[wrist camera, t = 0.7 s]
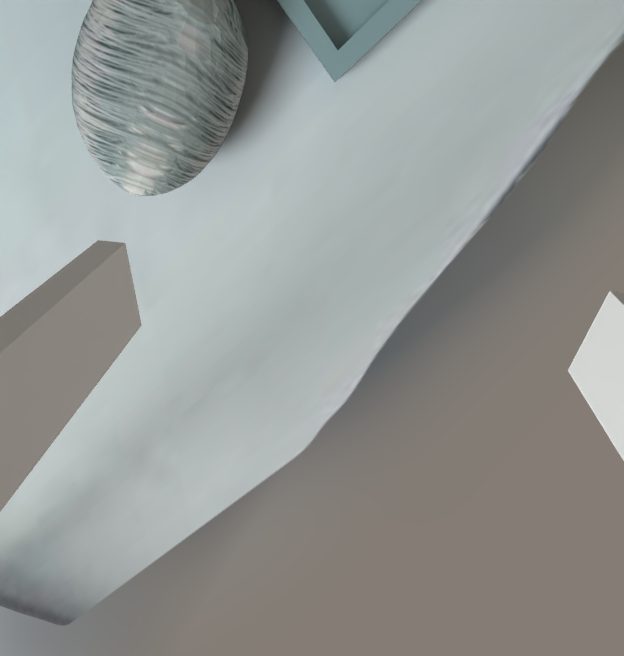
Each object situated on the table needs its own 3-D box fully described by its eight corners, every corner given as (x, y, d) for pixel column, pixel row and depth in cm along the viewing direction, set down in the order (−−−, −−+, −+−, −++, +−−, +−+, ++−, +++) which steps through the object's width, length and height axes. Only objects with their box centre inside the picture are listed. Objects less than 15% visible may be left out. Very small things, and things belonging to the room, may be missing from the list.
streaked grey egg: (114, -131, 22) (94, -45, 17) (273, -16, 27) (293, 75, 22) (66, 93, 31) (44, 190, 26) (192, 147, 36) (193, 236, 32)
